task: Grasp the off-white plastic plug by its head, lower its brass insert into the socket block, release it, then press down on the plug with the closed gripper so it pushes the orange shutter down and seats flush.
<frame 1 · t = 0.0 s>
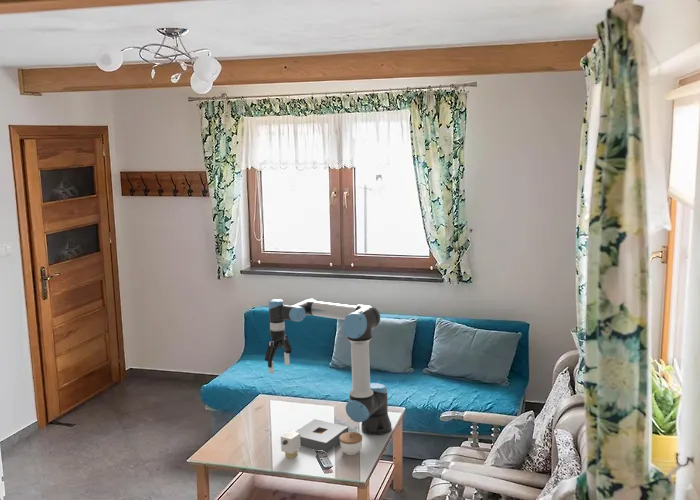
hand: (279, 369, 359), 28 cm above the table, fingers open, 13 cm apart
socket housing: (320, 440, 339), on the table
shutter: (320, 434, 339), point 3 cm above the table, slide at 0.0 cm
plug: (291, 455, 324), on the table
lidded jar: (351, 452, 326), on the table
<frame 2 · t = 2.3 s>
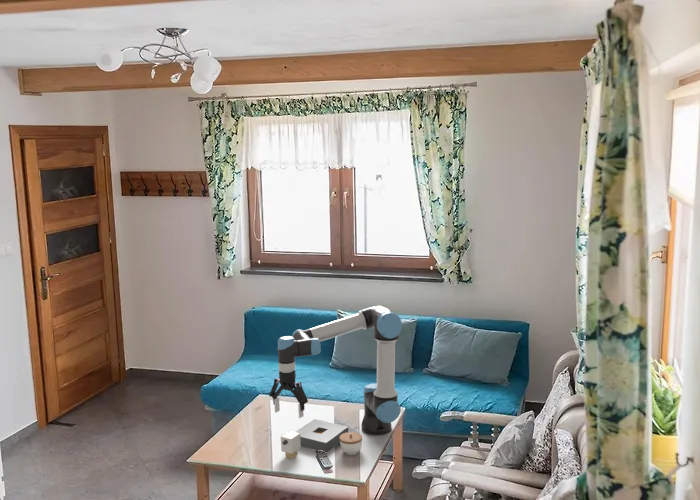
hand: (289, 414, 320), 20 cm above the table, fingers open, 13 cm apart
nothing on the table moved.
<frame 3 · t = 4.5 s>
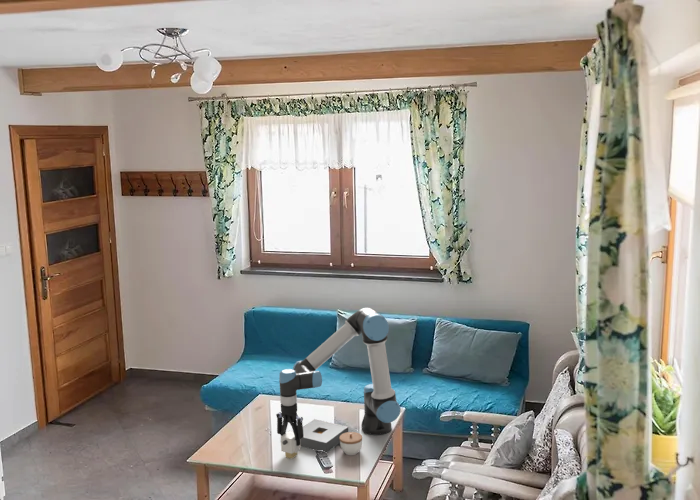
hand: (291, 449, 323), 3 cm above the table, fingers closed on plug, 6 cm apart
plug: (291, 455, 324), on the table, touching gripper
everything else where it was.
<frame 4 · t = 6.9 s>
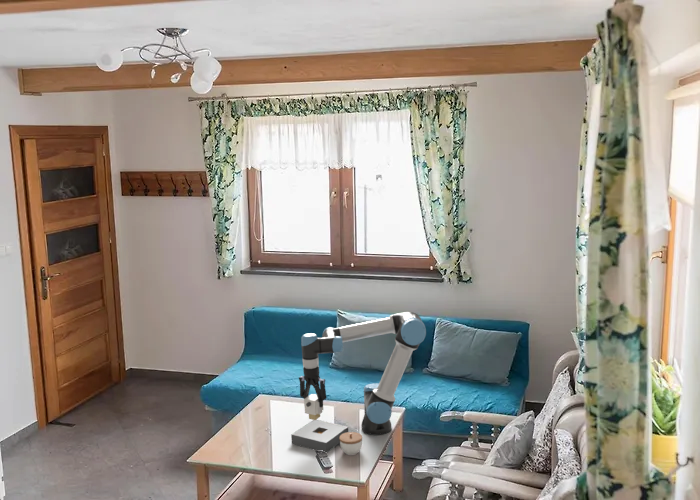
hand: (314, 412, 333), 16 cm above the table, fingers closed on plug, 6 cm apart
plug: (314, 417, 333), point 13 cm above the table, touching gripper
everything else where it was.
when the fingers open (6 cm above the table, at t = 9.2 s): plug drops 2 cm, resting on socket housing.
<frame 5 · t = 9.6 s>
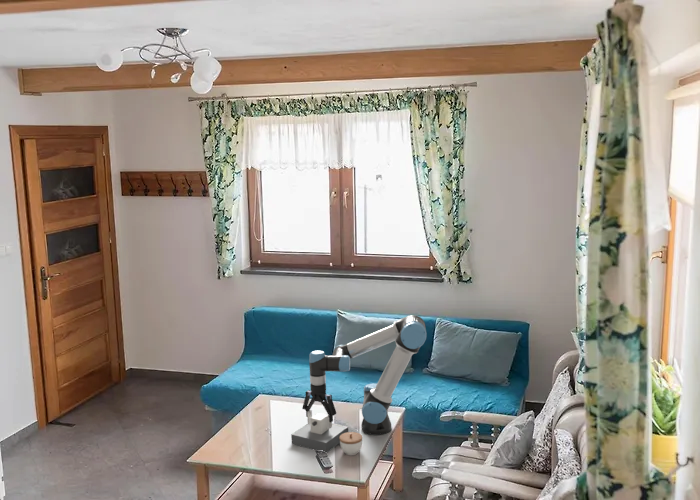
hand: (319, 425, 338), 7 cm above the table, fingers open, 11 cm apart
shutter: (320, 437, 339), point 2 cm above the table, slide at 1.2 cm
plug: (320, 436, 339), point 2 cm above the table, touching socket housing
everything else where it was.
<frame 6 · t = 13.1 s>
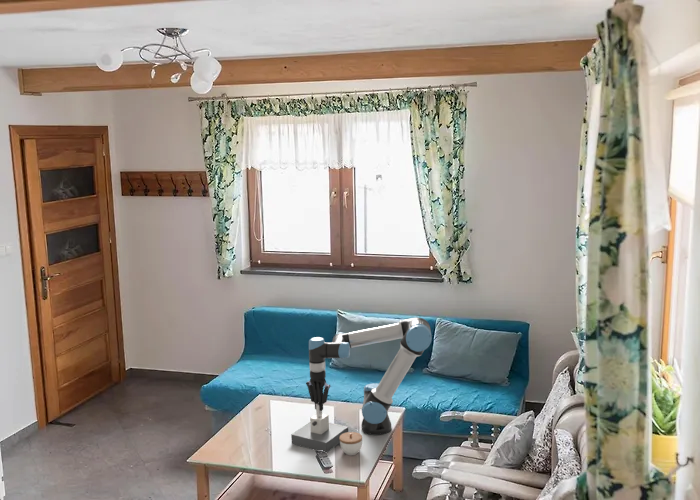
hand: (319, 416, 337), 12 cm above the table, fingers closed
plug: (320, 436, 339), point 2 cm above the table, touching gripper, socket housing
everything else where it was.
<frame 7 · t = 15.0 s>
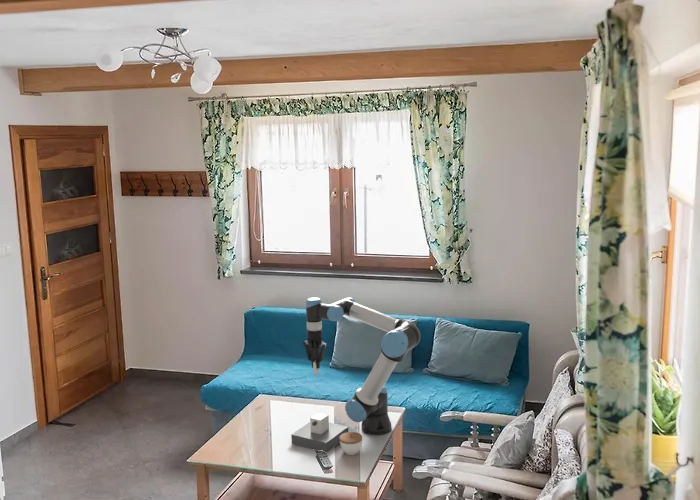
hand: (316, 374, 349), 28 cm above the table, fingers closed
plug: (320, 436, 339), point 2 cm above the table, touching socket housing
everything else where it was.
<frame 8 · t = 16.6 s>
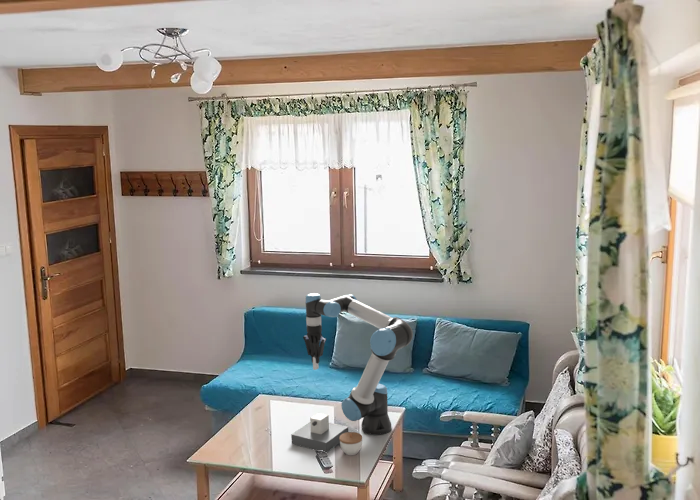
hand: (315, 368, 354), 29 cm above the table, fingers closed
nothing on the table moved.
at the end: plug 0.1 cm off-centre on the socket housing, point 1.8 cm above the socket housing's base; shutter slide at 1.2 cm; plug tilted 0° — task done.
